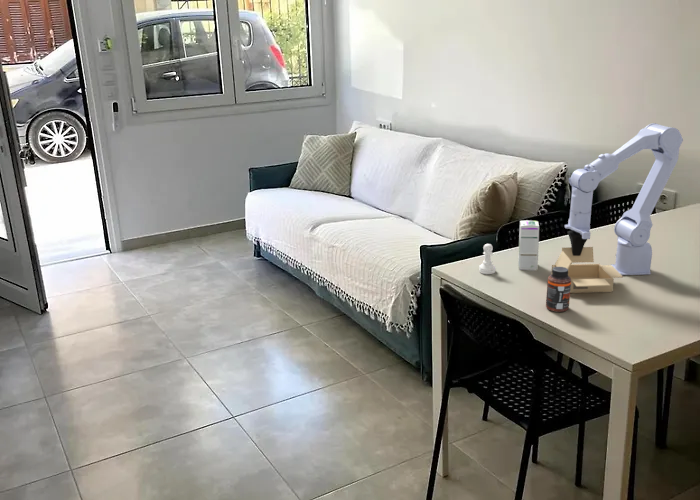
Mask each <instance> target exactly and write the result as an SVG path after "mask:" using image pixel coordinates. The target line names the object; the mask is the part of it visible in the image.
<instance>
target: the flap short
mask: <svg viewBox="0 0 700 500" xmlns="http://www.w3.org/2000/svg"><path fill="white" fill-rule="evenodd" d="M562 251H564V253H565V254H566V255H567V256H568V257H569V259H570V260H571V261H572V264H573V263H574V264H577V263H578V264H579V263H594V262H595V259H594V246H584V247H583V249H582V252H581V255H580V256H573V254H572V247H561V252H562Z"/></svg>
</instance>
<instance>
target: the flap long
mask: <svg viewBox="0 0 700 500" xmlns="http://www.w3.org/2000/svg"><path fill="white" fill-rule="evenodd" d="M571 264H573V263H572V261H571V260H570V259H569V257H568V256H567V255H566V254H565V253H564V251H562V250H561V252H560V254H559V256H558V258H557V259H556V261H555V264H554V265H556V266H557V267H565V268H567V269H569V267H570V266H571Z"/></svg>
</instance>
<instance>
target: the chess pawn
mask: <svg viewBox="0 0 700 500" xmlns="http://www.w3.org/2000/svg"><path fill="white" fill-rule="evenodd" d="M482 248H483V252H482V254H483V255H484V260H482V263H481V264H479V266H478V268H479V269H478V271H479V273H481V274H483V275H493V274H495V273H496V269H497V268H496V265H494V264H493V261H492V259H491V256H492V255H493V248H494V247H493V245H492V244H491V243H486V244H484V245H483V247H482Z"/></svg>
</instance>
